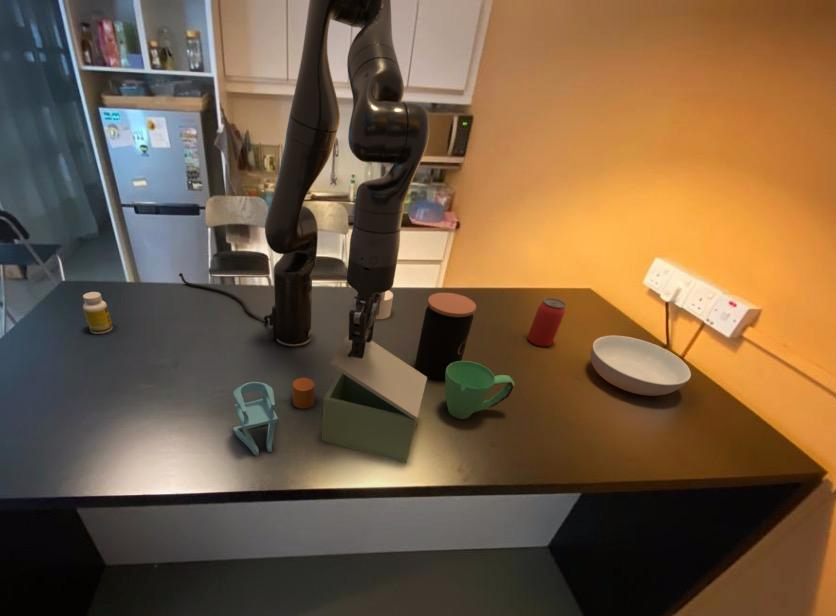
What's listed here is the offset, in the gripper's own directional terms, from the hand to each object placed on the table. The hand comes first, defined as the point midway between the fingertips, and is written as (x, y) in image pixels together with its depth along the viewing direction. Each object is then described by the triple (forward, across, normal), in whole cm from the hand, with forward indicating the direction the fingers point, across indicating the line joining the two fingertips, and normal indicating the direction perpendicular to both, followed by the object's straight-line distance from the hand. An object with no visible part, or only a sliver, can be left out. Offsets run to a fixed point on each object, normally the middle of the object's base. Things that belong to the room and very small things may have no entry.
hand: (361, 348), depth 76 cm
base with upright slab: (+19, -51, -7) cm, 55 cm away
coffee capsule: (+19, -3, -12) cm, 23 cm away
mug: (+18, -14, +23) cm, 32 cm away
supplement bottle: (+20, -12, -72) cm, 76 cm away
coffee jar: (+19, -28, +14) cm, 36 cm away
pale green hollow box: (+19, 0, +4) cm, 19 cm away
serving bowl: (+18, -41, +60) cm, 75 cm away
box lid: (+4, 0, +4) cm, 6 cm away
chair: (+19, +11, -16) cm, 27 cm away
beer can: (+18, -53, +40) cm, 69 cm away
